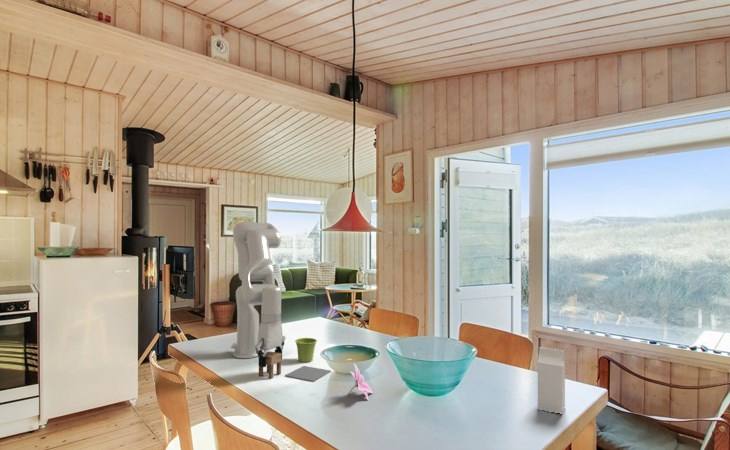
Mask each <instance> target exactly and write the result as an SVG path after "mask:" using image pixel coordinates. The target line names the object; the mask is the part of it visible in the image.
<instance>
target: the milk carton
mask: <svg viewBox="0 0 730 450" xmlns="http://www.w3.org/2000/svg"><path fill="white" fill-rule="evenodd" d="M538 348H539V349H538V350H539V351H538V358H537V410H538V409H541V410H540V411H542V410H546V411H545V412H547V411H551V412H557V413H561V414H562V415H563V414H564V411H565V408H566V358H565V351H564V350H563V349H556V348H550V347H544V346H543V347H541V346H539V347H538ZM564 407H565V408H564ZM551 412H550V413H551Z"/></svg>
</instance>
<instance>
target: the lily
mask: <svg viewBox="0 0 730 450" xmlns="http://www.w3.org/2000/svg"><path fill="white" fill-rule="evenodd" d="M353 365H354V370H355V372H353V371H350V374H351V375H352V376H353V378H354V379H355V382H354V386H352V388H351V389H350V391H349V392H348V394H347V396H349V395H350V394H351V392H352V391H353V389H354V388H358V390H359V391H362V392H363V394H364V396H365V397H366V399H367V400H369V396H368V395H369V394H368V393H371V394H374V392H373V389H372V388H371V387H370V385H369V384H368V383H367V382H366V380H365V377H364V375H362V374H361V371H360V369H359V368H358V366H357V365H356V364H355V363H354V362H353Z"/></svg>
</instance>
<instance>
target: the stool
mask: <svg viewBox="0 0 730 450" xmlns="http://www.w3.org/2000/svg"><path fill="white" fill-rule="evenodd" d="M265 356H266V373H268V379H269V380H270V379H274V365H275V364H276V375H277V376H279V375H281V374H282V360H281V353H276V352H275V351H271V350H267V353H266V355H265ZM258 377H259V378H260V377H261V378H262V377H264V367H260V366H259V365H258Z"/></svg>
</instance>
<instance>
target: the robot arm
mask: <svg viewBox="0 0 730 450" xmlns="http://www.w3.org/2000/svg"><path fill="white" fill-rule="evenodd" d="M280 234H281V233H280V231H279V230H278V229H277V228H276V227H275V226H274V225H273V224H271V223H270V222H255V221H254V222H253V221H252V222H251V221H243V222H238V223H236V224H235V225H234V227H233V230H232V236H233V242H234V245H235V246H236V251H237V265H238V266H237V267H238V269H237V271H238V278H239V280H240V281H241V285H240V286H238V287H237V289H236V290H235V300H236V310H237V311H236V312H237V313H236V314H237V319H236V321H237V323H236V324H237V326H236V342H233V344H232V345H231V346H230V348H231V349H234V351H233V352H232V357H233V358H238V359H253V358H257V357H258V367H259V366H260V367H263V368H267V364H266V356H265V355H266V353H267V352H268V351H271V350H273V349H274V352H276V353H281V361H283V350H284V345H285V342H286V336H285V335H283V325H282V287H280V286H277V285H276V282H275V280H276V279H275V269H274V265H273V263H272V262H271V260H272V259H271V255H270V254H271V253H270V249H277V248H279V247H280V245H281V239H282V238H281V235H280ZM251 282H261V283H251ZM255 306H261V312H260V313H261V317H260V314H259V312H258V311H257V309H256V308H255ZM260 318H261V319H260ZM260 320H261V321H260Z"/></svg>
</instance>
